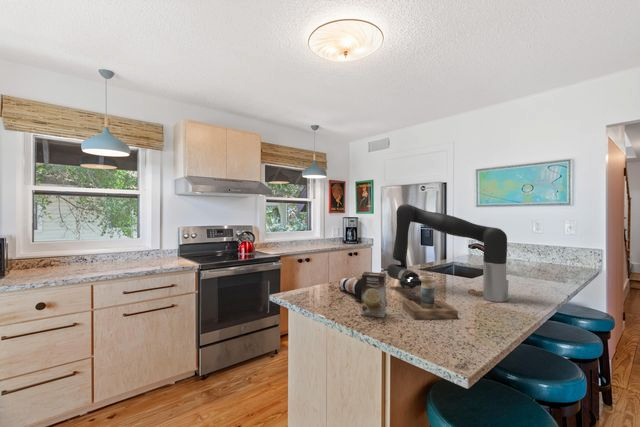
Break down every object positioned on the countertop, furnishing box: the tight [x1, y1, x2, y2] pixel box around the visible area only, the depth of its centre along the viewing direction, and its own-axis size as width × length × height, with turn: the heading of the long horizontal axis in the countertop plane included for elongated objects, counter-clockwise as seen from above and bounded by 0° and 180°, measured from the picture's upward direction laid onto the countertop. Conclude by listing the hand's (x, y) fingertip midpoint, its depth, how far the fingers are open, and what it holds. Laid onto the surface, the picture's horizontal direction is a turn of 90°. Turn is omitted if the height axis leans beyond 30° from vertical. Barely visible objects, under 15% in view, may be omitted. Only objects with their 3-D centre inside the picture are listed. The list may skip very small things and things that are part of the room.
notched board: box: [402, 300, 459, 320], centre depth 121 cm, size 17×13×3 cm
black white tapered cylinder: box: [338, 277, 362, 301], centre depth 146 cm, size 10×34×10 cm, turn 21°
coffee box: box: [360, 271, 387, 318], centre depth 120 cm, size 9×6×16 cm
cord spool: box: [419, 275, 437, 309], centre depth 122 cm, size 6×6×14 cm
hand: (422, 286), depth 127 cm, fingers open, 8 cm apart
